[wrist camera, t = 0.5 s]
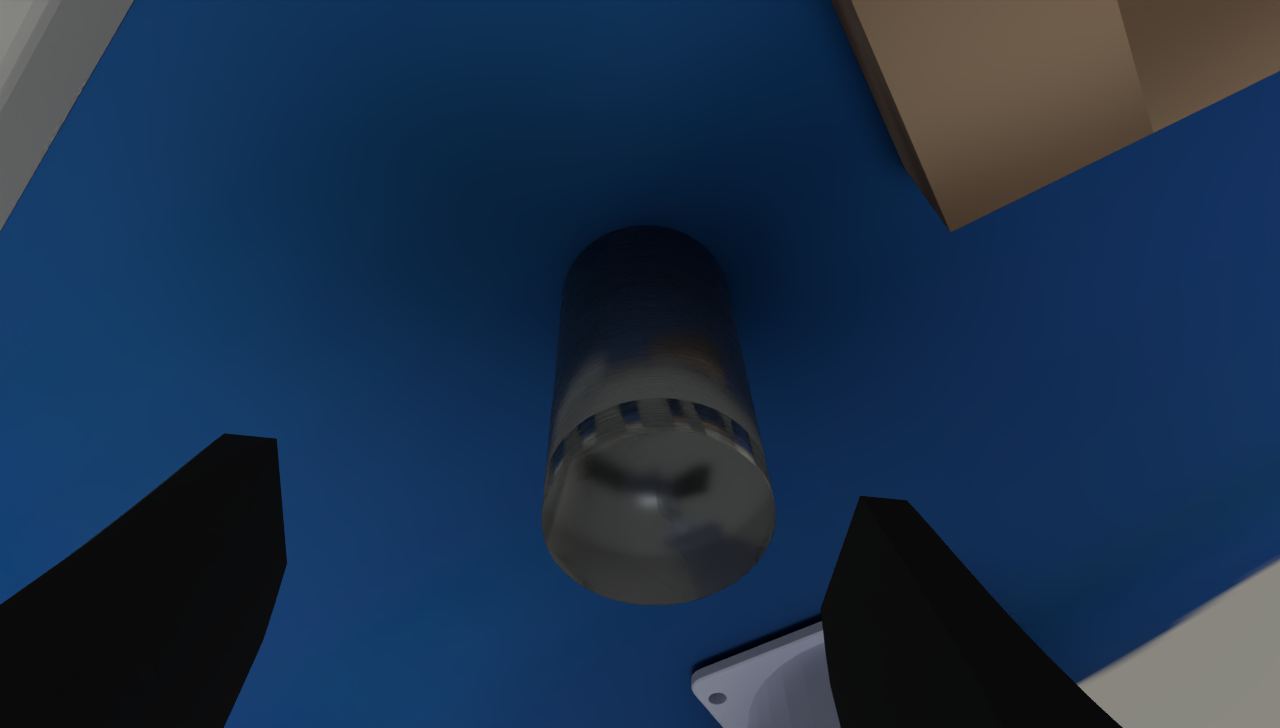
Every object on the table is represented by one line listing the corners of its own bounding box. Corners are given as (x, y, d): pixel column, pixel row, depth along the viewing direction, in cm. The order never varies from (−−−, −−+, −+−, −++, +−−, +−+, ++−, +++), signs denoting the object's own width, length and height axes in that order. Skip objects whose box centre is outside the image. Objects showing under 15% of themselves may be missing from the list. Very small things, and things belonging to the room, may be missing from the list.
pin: (755, 326, 21) (813, 552, 15) (616, 395, 21) (617, 633, 16) (677, 195, 19) (707, 391, 13) (530, 276, 20) (495, 493, 14)
